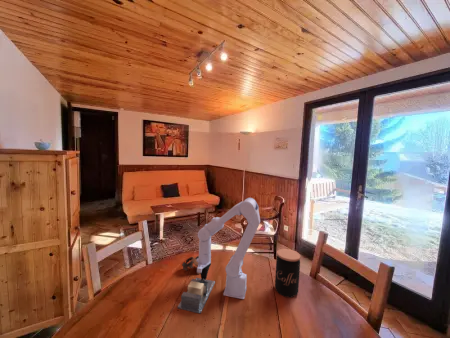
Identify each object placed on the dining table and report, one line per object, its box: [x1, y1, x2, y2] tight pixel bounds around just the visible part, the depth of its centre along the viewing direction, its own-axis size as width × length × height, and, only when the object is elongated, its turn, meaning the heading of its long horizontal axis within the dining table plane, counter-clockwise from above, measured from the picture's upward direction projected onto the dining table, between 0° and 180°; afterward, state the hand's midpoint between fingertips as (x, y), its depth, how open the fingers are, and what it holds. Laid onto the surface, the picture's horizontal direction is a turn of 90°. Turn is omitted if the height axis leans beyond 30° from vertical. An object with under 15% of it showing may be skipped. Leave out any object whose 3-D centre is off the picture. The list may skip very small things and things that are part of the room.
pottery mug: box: [181, 255, 201, 276], centre depth 108 cm, size 12×10×8 cm
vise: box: [177, 277, 216, 315], centre depth 89 cm, size 10×20×5 cm, turn 167°
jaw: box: [189, 278, 208, 294], centre depth 92 cm, size 8×7×4 cm
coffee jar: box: [274, 248, 301, 298], centre depth 94 cm, size 11×11×18 cm
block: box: [187, 280, 204, 298], centre depth 87 cm, size 6×4×5 cm, turn 77°
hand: (203, 278), depth 96 cm, fingers closed
